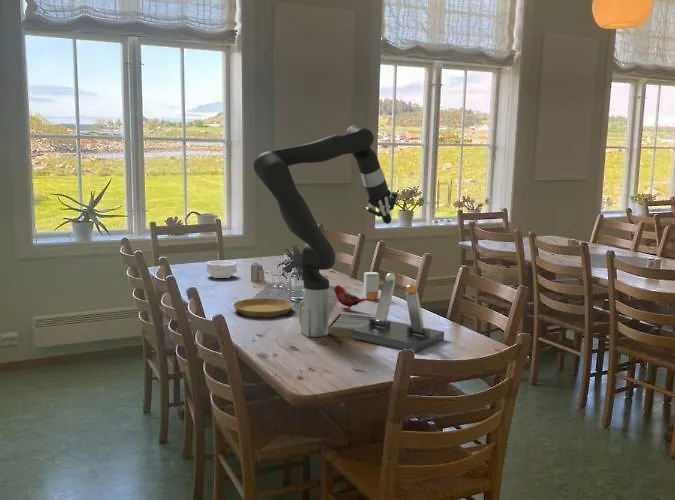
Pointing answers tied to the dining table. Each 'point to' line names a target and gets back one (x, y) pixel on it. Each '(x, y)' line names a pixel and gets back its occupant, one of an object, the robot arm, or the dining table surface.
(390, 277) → the white lever
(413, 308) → the orange lever
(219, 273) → the white footed bowl
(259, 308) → the plant saucer
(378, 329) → the switch panel
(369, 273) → the skincare box
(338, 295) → the decorative bird figurine
